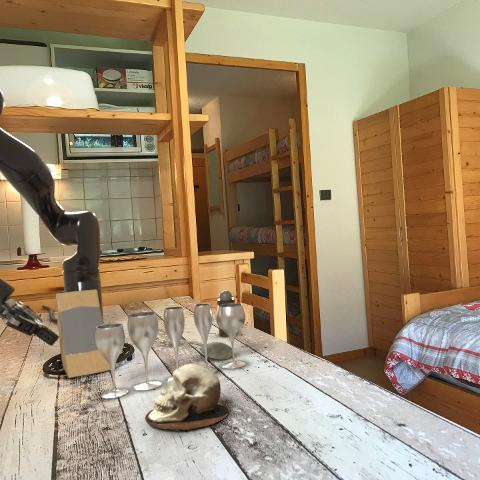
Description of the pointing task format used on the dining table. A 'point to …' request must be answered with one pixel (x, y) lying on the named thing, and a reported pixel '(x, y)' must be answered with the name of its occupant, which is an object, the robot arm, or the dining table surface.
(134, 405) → the dining table surface
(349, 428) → the dining table surface
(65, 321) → the sandwich container
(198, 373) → the skull
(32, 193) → the robot arm
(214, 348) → the soupspoon
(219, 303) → the pepper mill
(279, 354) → the dining table surface
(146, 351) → the goblet set
